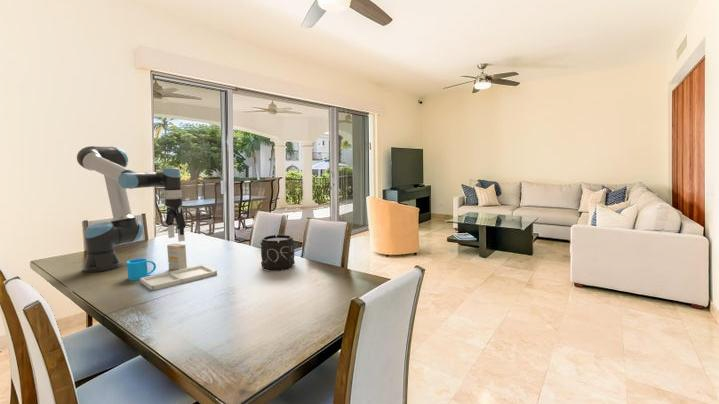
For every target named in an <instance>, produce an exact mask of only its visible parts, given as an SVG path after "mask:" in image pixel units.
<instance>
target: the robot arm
mask: <svg viewBox="0 0 719 404" xmlns="http://www.w3.org/2000/svg"><path fill="white" fill-rule="evenodd" d="M76 161H77V163H78V164H79V166H80V167H81V168H84V169H86V170H87V171H95V172H97V173H99V174H101V175H103V178H104V182H105V187H106V191H107V194H108V199H109V204H110V209H111V214H112V219H111V220H110V221H105V222H99V223H94V224H92V225H88V226H87V227H86V228H85V229H84V232H85V233H84V238H85V244H86V254H87V255H86V259H85V261H84V265H83V270H84V272H87V273H97V272H104V271H105V272H106V271H111V270H113V269H114V270H115V269H117V268H119V267H120V266H121V264H120V260H119V258H118V256H117V253H116V251H115V246H119V245H123V244H124V245H125V244H130V243H134V242H136V241H138V240H140V239H141V238H142V236H143V233H144V227H143V224H142V223H141V221H139V220H137V219H136V216H134V215H133V214H132V210H131V206H130V201H129V197H128V196H129V195H128V192H127V189H128V190H129V189H131V190H132V189H139V188H140V189H141V188H143V189H144V188H153V187H157V188H158V187H163V188H164V192H163V195H164V198H165V200H164V202H165V207H166V218H165V224H166V225H167V234H168V235H167V236H168V239H171V238H172V239H173V238H175V222H176V226H177V227H176V229H177V236H178V237H177V238H178V240H177V241H178V242H179V243H181V242H185V228H186V227H187V225H186V221H185V218H184V212H183V209H182V207H181V206H183V198H182V197H183V196H182V195H183V193H182V180H181V177H182V176H181V172H180V168H179V167H163V169H162V171H147V172H145V171H144V172H143V171H142V172H140V171H139V172H137V171H133V170H131V169H129V168H127V166H128V163H129V157H128V154H127V153H126V152H125V151H124V150H123V149H122V148H121V147H115V146H91V145H90V146H86V147H83V148H81V149H80V150H79V151H78V152H77V155H76ZM180 207H181V208H180ZM174 221H175V222H174Z"/></svg>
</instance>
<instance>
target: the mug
mask: <svg viewBox="0 0 719 404" xmlns="http://www.w3.org/2000/svg"><path fill="white" fill-rule="evenodd" d="M148 263H151V264H152V266H153V269H152V270H151V271H149V272H148ZM126 268H127V269H126V270H127V279H128V280H129V281H137V280H140V278H143V277H147V276H149V275H150V274H152V273H153V272H154V271H155V270H156V268H157V265H156V263H155V262H154V261H152V260H148V259H147V258H134V259H129V260H127V261H126Z"/></svg>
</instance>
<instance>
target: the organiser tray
mask: <svg viewBox="0 0 719 404" xmlns="http://www.w3.org/2000/svg"><path fill="white" fill-rule="evenodd" d="M217 275H218V270H215V269H213V268H211V267H209V266H207V265H205V264H200V265H199V264H198V265H194V266H190V267H187V268H185V269H180V270H170V271H166V272H162V273H158V274H153V275H148V276H147V277H143V278H140V279H139V281H140V282H139V283H141V284H142V285H144V286H145V287H146V288H147V289H148V290H150V291H151V292H152V291H153V292H154V291H156V290H161V289H165V288H168V287H173V286H176V285H181V284H185V283H188V282H192V281H193V282H194V281H197V280H201V279H206V278H209V277H210V278H211V277H214V276H217Z"/></svg>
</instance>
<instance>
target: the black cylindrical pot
mask: <svg viewBox="0 0 719 404" xmlns="http://www.w3.org/2000/svg"><path fill="white" fill-rule="evenodd" d="M294 244H295V241H294V239H293V236H291V235H289V234H277V235H276V234H272V235H267V236H264V237H262V238H261V240H260V256H261V262H260V264H261V267H262V268H263V270H265V271H268V270H269V272H274V271H275V272H280V271H281V270H282V271H285V270H286V269H287V270H290V269H291V268H293V267H294V265H295V263H296V262H295V245H294ZM292 266H293V267H292ZM289 268H290V269H289Z"/></svg>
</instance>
